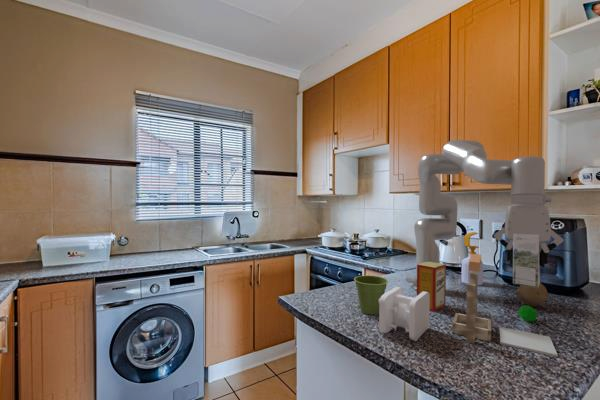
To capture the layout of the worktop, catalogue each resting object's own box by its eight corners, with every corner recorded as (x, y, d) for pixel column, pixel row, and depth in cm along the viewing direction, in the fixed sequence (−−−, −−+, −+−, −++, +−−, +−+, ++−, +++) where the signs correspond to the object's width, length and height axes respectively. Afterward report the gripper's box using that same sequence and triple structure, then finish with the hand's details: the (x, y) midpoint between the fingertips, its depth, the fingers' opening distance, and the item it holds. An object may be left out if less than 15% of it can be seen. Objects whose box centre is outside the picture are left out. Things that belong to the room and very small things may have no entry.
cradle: (450, 338, 84) (451, 282, 85) (457, 317, 100) (457, 270, 100) (490, 347, 79) (491, 288, 79) (491, 324, 94) (491, 274, 94)
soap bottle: (487, 285, 139) (487, 233, 139) (467, 285, 139) (468, 233, 139) (476, 280, 147) (476, 231, 148) (457, 280, 148) (458, 231, 148)
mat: (500, 344, 81) (500, 341, 81) (499, 328, 91) (499, 326, 91) (557, 357, 75) (557, 354, 75) (549, 338, 85) (549, 336, 85)
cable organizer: (414, 346, 79) (414, 303, 79) (377, 335, 86) (377, 295, 86) (430, 328, 91) (430, 290, 91) (396, 319, 98) (396, 284, 98)
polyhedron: (526, 317, 101) (526, 303, 101) (541, 323, 96) (541, 308, 96) (514, 318, 100) (514, 304, 100) (528, 324, 95) (528, 309, 95)
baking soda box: (428, 301, 116) (428, 260, 116) (445, 305, 111) (445, 263, 111) (416, 306, 110) (417, 263, 110) (434, 311, 105) (434, 266, 105)
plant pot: (358, 303, 113) (358, 273, 113) (390, 308, 107) (390, 277, 107) (349, 313, 102) (349, 281, 102) (384, 320, 97) (384, 286, 97)
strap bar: (468, 270, 98) (469, 261, 98) (471, 261, 113) (472, 253, 113) (479, 271, 96) (479, 262, 96) (481, 262, 111) (481, 254, 111)
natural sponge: (554, 312, 106) (554, 284, 106) (526, 309, 108) (526, 282, 108) (539, 303, 115) (539, 277, 115) (513, 301, 117) (513, 276, 117)
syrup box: (540, 284, 83) (540, 232, 83) (538, 288, 79) (538, 234, 79) (515, 280, 87) (515, 231, 87) (512, 284, 83) (512, 232, 83)
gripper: (565, 201, 82) (564, 266, 82) (490, 200, 91) (490, 259, 91) (571, 201, 75) (570, 271, 75) (490, 200, 85) (489, 263, 85)
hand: (526, 264), depth 83 cm, fingers closed on syrup box, 6 cm apart
